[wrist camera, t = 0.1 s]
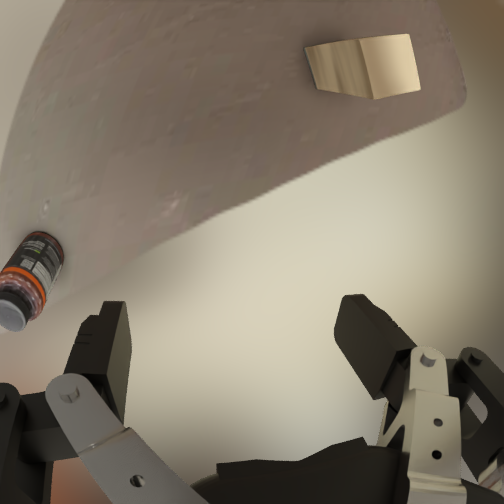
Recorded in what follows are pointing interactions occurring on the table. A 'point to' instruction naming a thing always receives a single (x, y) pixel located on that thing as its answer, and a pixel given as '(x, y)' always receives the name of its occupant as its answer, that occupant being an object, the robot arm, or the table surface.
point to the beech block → (365, 66)
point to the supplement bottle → (28, 280)
